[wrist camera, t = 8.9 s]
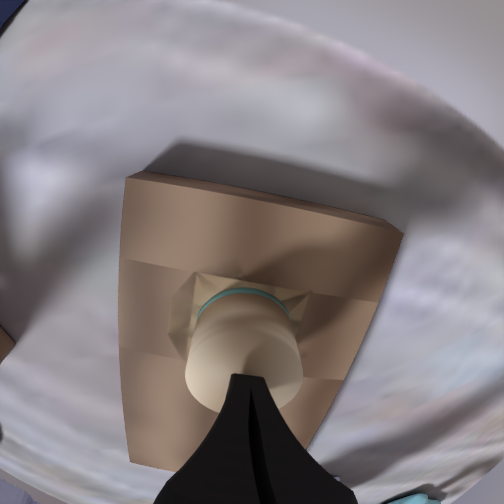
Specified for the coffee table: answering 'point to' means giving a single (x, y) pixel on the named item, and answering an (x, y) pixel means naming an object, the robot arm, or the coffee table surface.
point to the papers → (8, 9)
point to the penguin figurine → (416, 500)
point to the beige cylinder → (243, 346)
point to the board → (235, 276)
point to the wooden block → (5, 344)
